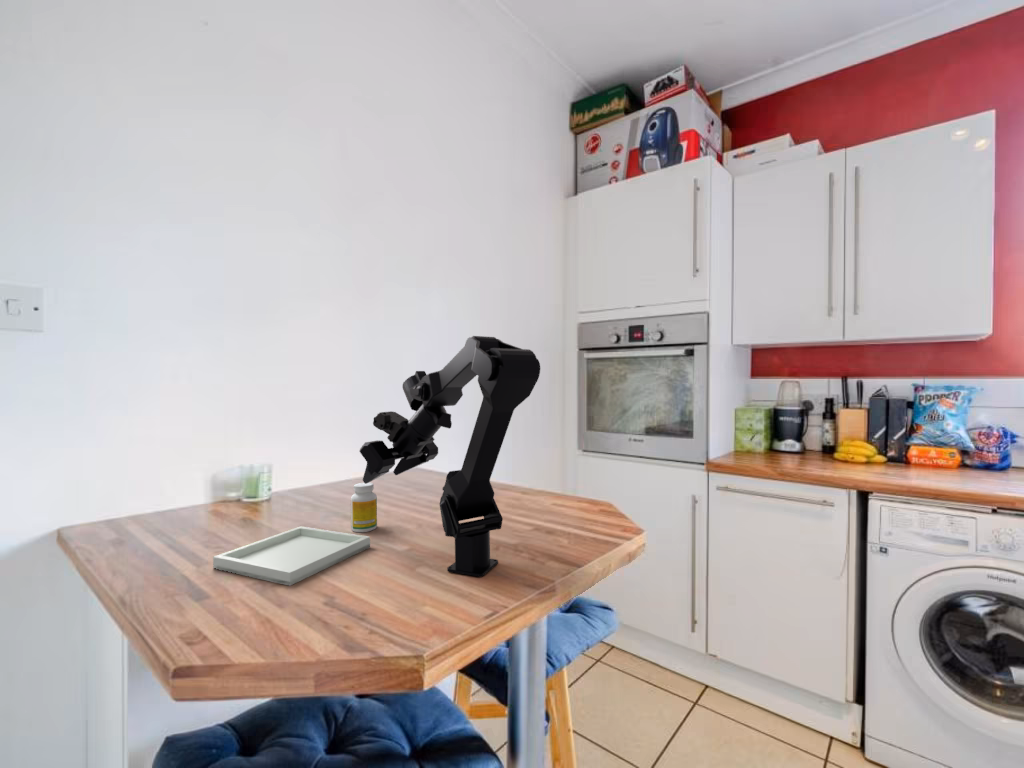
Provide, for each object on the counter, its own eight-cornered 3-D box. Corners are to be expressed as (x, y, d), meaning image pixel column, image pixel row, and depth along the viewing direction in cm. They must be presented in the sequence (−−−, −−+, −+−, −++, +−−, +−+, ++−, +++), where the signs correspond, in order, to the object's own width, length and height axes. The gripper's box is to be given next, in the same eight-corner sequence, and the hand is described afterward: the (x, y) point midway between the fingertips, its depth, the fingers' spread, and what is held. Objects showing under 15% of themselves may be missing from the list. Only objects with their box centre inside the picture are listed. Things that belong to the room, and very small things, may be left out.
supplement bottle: (347, 528, 98) (346, 484, 98) (371, 523, 101) (370, 480, 101) (356, 534, 94) (355, 488, 94) (381, 529, 97) (380, 484, 97)
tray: (289, 585, 70) (289, 572, 70) (213, 568, 77) (213, 556, 77) (370, 547, 86) (370, 536, 86) (300, 535, 93) (300, 526, 93)
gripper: (426, 397, 102) (388, 443, 107) (366, 400, 85) (324, 455, 90) (456, 433, 99) (416, 480, 103) (400, 444, 82) (355, 499, 87)
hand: (380, 477), depth 96 cm, fingers open, 9 cm apart
